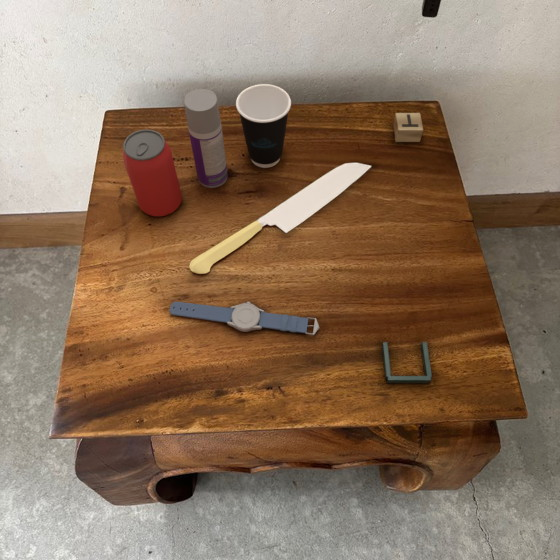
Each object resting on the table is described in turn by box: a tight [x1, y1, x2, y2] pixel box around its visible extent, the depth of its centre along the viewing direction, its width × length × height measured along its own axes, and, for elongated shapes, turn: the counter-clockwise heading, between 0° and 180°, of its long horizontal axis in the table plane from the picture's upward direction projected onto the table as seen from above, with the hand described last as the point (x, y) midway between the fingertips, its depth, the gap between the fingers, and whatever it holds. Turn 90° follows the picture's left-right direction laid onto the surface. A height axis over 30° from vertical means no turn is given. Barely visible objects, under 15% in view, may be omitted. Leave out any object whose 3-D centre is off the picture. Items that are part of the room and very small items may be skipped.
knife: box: [188, 162, 372, 275], centre depth 81 cm, size 1×34×5 cm
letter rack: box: [381, 341, 433, 384], centre depth 69 cm, size 5×6×1 cm
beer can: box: [122, 128, 183, 217], centre depth 78 cm, size 7×7×12 cm
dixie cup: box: [235, 83, 292, 169], centre depth 83 cm, size 8×8×11 cm
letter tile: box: [392, 112, 424, 143], centre depth 89 cm, size 4×4×3 cm
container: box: [183, 88, 229, 189], centre depth 79 cm, size 5×5×15 cm
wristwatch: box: [169, 301, 321, 336], centre depth 72 cm, size 4×20×1 cm, turn 81°
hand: (428, 13), depth 79 cm, fingers closed
